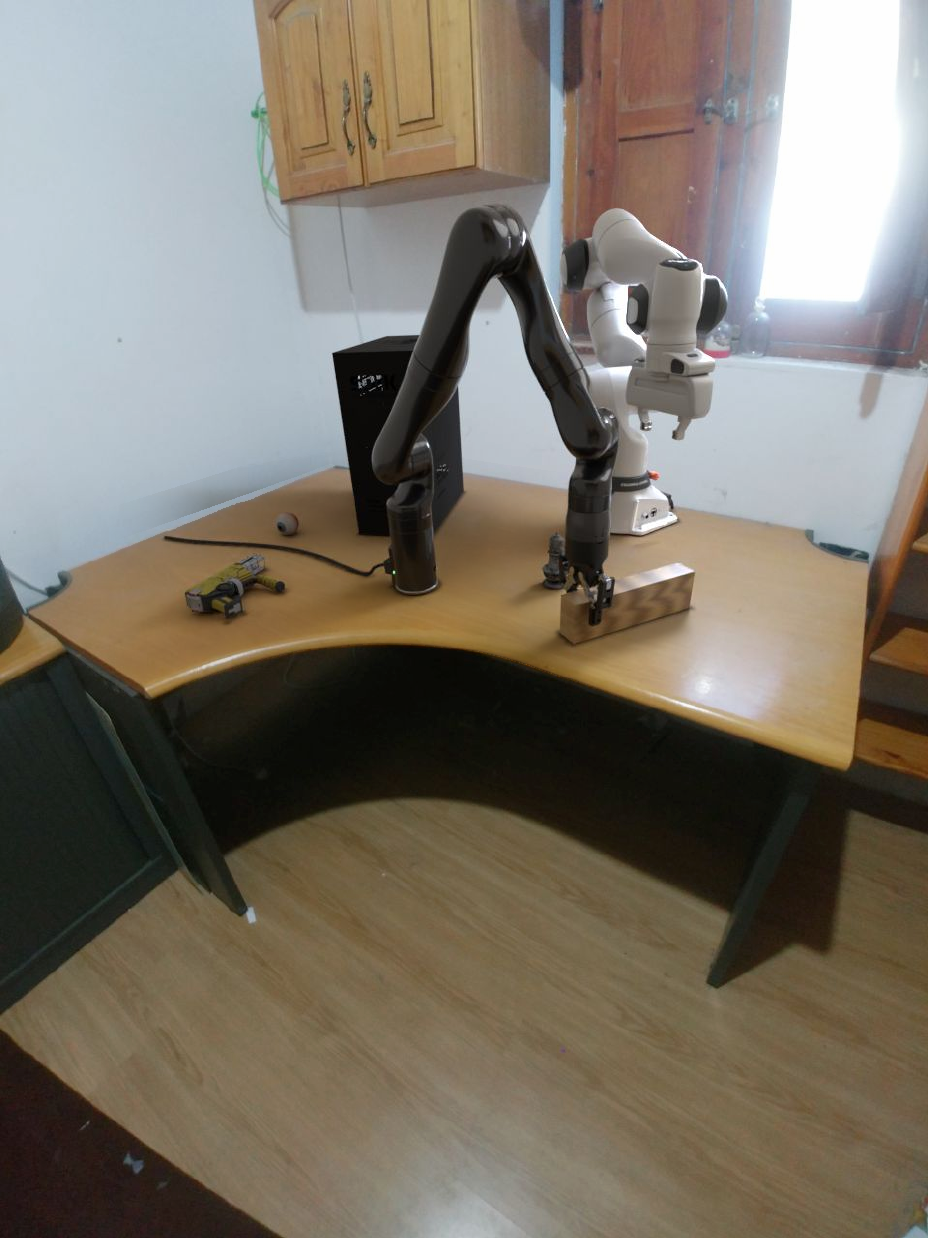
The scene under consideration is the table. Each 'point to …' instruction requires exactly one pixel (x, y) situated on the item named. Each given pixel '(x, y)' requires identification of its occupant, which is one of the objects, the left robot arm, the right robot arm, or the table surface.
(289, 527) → the eyeball
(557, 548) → the weathered chess pawn
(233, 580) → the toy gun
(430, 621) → the table surface
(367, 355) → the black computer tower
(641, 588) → the bar
